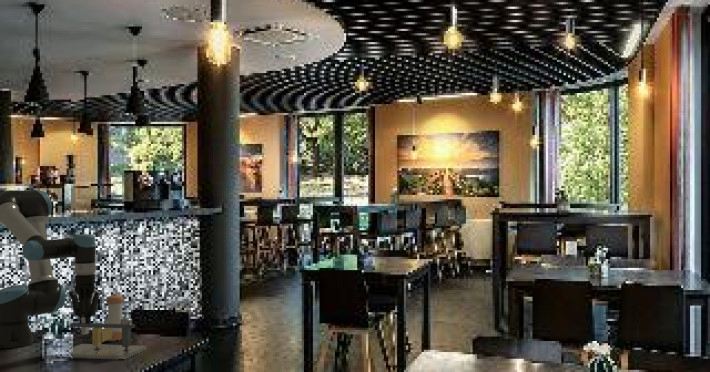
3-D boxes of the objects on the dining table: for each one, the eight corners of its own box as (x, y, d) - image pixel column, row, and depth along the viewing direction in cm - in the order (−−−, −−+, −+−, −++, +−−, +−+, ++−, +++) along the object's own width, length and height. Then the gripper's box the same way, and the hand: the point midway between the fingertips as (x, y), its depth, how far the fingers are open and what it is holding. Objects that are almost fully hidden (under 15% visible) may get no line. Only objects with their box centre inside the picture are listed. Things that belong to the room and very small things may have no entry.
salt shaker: (120, 336, 286) (120, 291, 287) (127, 339, 281) (126, 293, 281) (103, 339, 282) (103, 293, 282) (109, 342, 276) (109, 295, 276)
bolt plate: (56, 357, 251) (56, 352, 251) (81, 347, 266) (81, 343, 266) (124, 359, 245) (124, 355, 245) (146, 349, 261) (146, 345, 261)
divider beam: (68, 348, 256) (68, 318, 257) (74, 345, 260) (74, 316, 261) (131, 350, 251) (130, 320, 252) (136, 348, 255) (136, 318, 255)
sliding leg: (91, 348, 255) (91, 328, 256) (105, 343, 264) (105, 323, 265) (98, 348, 255) (98, 328, 255) (112, 343, 264) (111, 323, 264)
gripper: (64, 274, 262) (64, 335, 262) (94, 275, 259) (94, 336, 259) (75, 272, 269) (75, 331, 269) (105, 272, 267) (105, 332, 267)
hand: (85, 333), depth 264 cm, fingers closed
